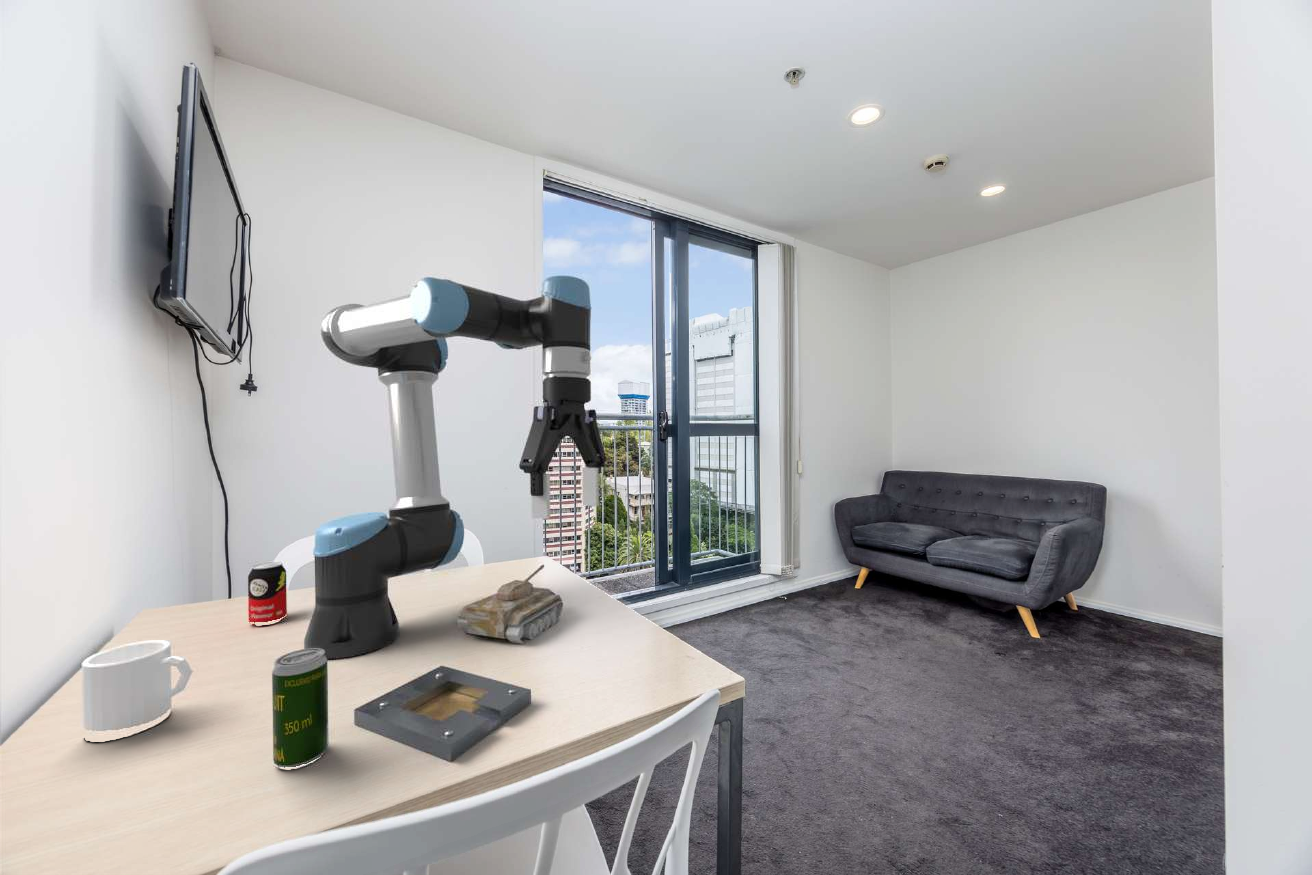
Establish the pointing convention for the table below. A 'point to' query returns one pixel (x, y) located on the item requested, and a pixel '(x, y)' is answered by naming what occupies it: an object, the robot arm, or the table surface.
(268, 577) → the beverage can
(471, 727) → the chassis plate
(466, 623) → the toy tank
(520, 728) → the table surface
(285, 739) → the beer can
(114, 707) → the mug
